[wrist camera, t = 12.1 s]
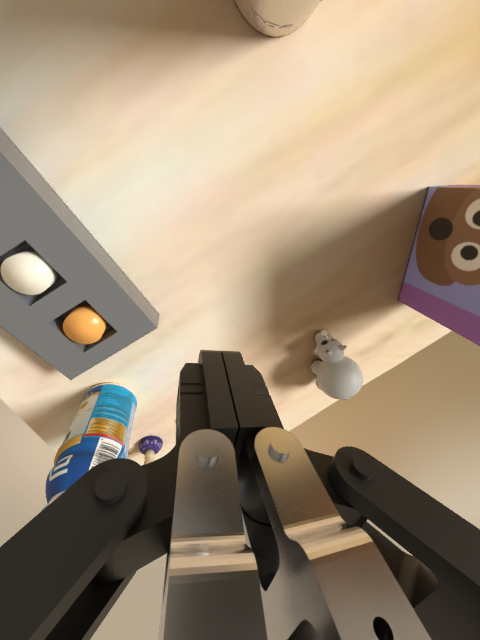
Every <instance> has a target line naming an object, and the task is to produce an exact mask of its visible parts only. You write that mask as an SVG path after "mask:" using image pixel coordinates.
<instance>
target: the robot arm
mask: <svg viewBox="0 0 480 640" xmlns="http://www.w3.org/2000/svg"><path fill="white" fill-rule="evenodd" d="M321 1H322V0H235V2H236V4H237V6H238V8H239V10H240V12H241V13H242V15H243V16H244V17H245V19H246V20H247V22H248V23H249V24H251V25H252V26H253V27H254V28H255V29H256V30H258V31H259V32H261V33H263V34H265V35H269V36H273V37H277V36H285V35H287V34H290V33H292V32H294V31H295V30H296V29H298V28H299V27H300V26H301V25H302V24H303V23H304V22H305V21H306V19H307V18H308V17H309V16H310V15H311V13H312V12H313V11H314V10H315V8H316V7H317V6H318V5H319V3H320V2H321ZM367 519H369V520H370V521H371V522H372V523H374V524H375V525H376V526H377V527H379V528H380V529H381V530H382V531H383V532H385V533H386V534H387V535H388V536H390V537H391V538H392V539H393V540H395V541H396V542H397V543H398V544H399V545H401V546H402V547H403V548H405V549H406V550H407V551H408V552H409V553H411V554H412V555H413V556H411V555H408V554H406V553H405V552H403V551H402V550H400V549H399V548H398V547H397V546H396V545H394V544H393V543H392V542H391V541H390V540H388V539H387V538H386V537H385V536H383V535H382V534H381V533H380V532H379V531H377V530H376V529H375V528H374V527H372V526H371V525H370V524H369V523H367V522H366V521H367ZM166 553H167V557H166V567H165V578H164V587H163V598H162V607H161V617H160V626H159V635H158V640H480V530H479V529H478V528H477V527H475V526H474V525H472V524H471V523H469V522H468V521H466V520H465V519H463V518H462V517H460V516H459V515H458V514H456V513H454V512H453V511H452V510H450V509H449V508H447V507H445V506H444V505H443V504H441V503H440V502H438V501H437V500H435V499H434V498H432V497H431V496H430V495H428V494H427V493H425V492H424V491H422V490H421V489H419V488H418V487H416V486H415V485H413V484H412V483H411V482H409V481H408V480H406V479H405V478H403V477H402V476H400V475H398V474H397V473H396V472H394V471H393V470H391V469H390V468H388V467H387V466H386V465H384V464H383V463H381V462H380V461H378V460H377V459H375V458H374V457H372V456H371V455H369V454H368V453H366V452H365V451H362V450H360V449H358V448H355V447H348V446H347V447H342V448H340V449H339V450H338V451H337V452H336V454H335V456H334V457H332V456H329V455H325V454H321V453H317V452H313V451H310V450H307V449H305V448H303V446H302V444H301V443H300V441H299V440H298V439H297V438H296V437H295V436H294V435H293V434H291V433H290V432H288V431H287V430H284V428H283V426H282V423H281V421H280V418H279V416H278V413H277V411H276V409H275V406H274V404H273V401H272V399H271V396H270V395H269V392H268V389H267V387H266V386H265V382H264V380H263V377H262V375H261V373H260V372H259V371H258V370H257V369H256V368H255V367H254V366H253V365H245V364H244V361H243V358H242V355H241V353H240V352H233V351H211V350H200V354H199V360H198V363H186V364H185V365H184V367H183V369H182V370H181V372H180V378H179V387H178V395H177V406H176V445H175V447H174V448H173V449H172V450H171V451H170V452H169V453H168V454H167V455H165V456H164V457H162V458H160V459H158V460H156V461H153V462H150V463H148V464H145V465H142V466H140V465H139V464H138V463H136V462H135V461H133V460H130V459H125V458H115V459H110V460H106V461H104V462H101V463H99V464H98V465H96V466H94V467H93V468H91V469H90V470H89V471H87V472H86V473H85V474H84V475H83V476H82V477H81V478H79V479H78V480H77V481H76V482H75V483H74V484H72V485H71V486H70V487H69V488H68V489H67V490H66V491H64V492H63V493H62V494H61V495H60V496H59V497H58V498H56V499H55V500H54V501H53V502H52V503H51V504H49V505H48V506H47V507H46V508H45V509H44V510H43V511H41V512H40V513H39V514H38V515H37V516H36V517H34V518H33V519H32V520H31V521H30V522H29V523H28V524H26V525H25V526H24V527H23V528H22V529H21V530H20V531H18V532H17V533H16V534H15V535H14V536H13V537H11V538H10V539H9V540H8V541H7V542H6V543H5V544H3V545H2V546H1V547H0V640H90V639H91V637H92V636H93V634H94V632H95V631H96V630H97V628H98V627H99V625H100V624H101V623H102V621H103V620H104V618H105V617H106V615H107V614H108V612H109V611H110V609H111V608H112V607H113V605H114V604H115V602H116V601H117V599H118V598H119V596H120V595H121V593H122V592H123V590H124V589H125V587H126V586H127V585H128V583H129V582H130V580H131V579H132V577H133V576H134V574H135V573H136V571H137V570H138V569H140V568H142V567H143V566H145V565H147V564H148V563H150V562H152V561H154V560H156V559H157V558H159V557H161V556H163V555H164V554H166Z"/></svg>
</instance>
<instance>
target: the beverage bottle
mask: <svg viewBox="0 0 480 640" xmlns="http://www.w3.org/2000/svg"><path fill="white" fill-rule="evenodd" d="M136 407H137V399H136V396H135V394H134V393H133V392H132V391H131V390H130V389H129V388H127V387H126V386H124V385H121V384H117V383H103V384H99V385H96V386H94V387H92V388H91V389H89V390H88V391H87V392H86V393H85V395H84V397H83V399H82V401H81V404H80V406H79V409H78V411H77V413H76V415H75V417H74V420H73V422H72V424H71V426H70V428H69V430H68V433H67V435H66V437H65V439H64V441H63V444H62V445H61V446H60V448H59V449H58V451H57V454H56V457H55V460H54V467H53V468H52V470H51V471H50V472H49V474H48V477H47V481H46V498H47V503H48V504H47V505H46V506H45V507H44V508H43V510H44V509H45V508H46V507H47V506H48V505H49V504H51V503H52V502H53V501H54V500H55V499H56V498H58V497H59V496H60V495H61V494H62V493H63V492H64V491H66V490H67V489H68V488H69V487H70V486H71V485H72V484H74V483H75V482H76V481H77V480H78V479H79V478H81V477H82V476H83V475H84V474H85V473H86V472H87V471H89V470H90V469H91V468H93V467H94V466H96V465H98V464H99V463H101V462H104V461H106V460H110V459H115V458H125V459H128V445H129V440H130V435H131V429H132V424H133V419H134V415H135V411H136ZM43 510H42V511H43Z"/></svg>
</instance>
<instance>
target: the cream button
mask: <svg viewBox="0 0 480 640" xmlns="http://www.w3.org/2000/svg"><path fill="white" fill-rule="evenodd" d="M1 275H2V278H3V280H4V281H5V282H6V284H7V285H8V286H9V287H11V288H12V289H13V290H15V291H17V292H19V293H22V294H26V295H36V294H40V293H42V292H44V291H45V290H46V289H47V288H49V287H50V286H51V285H52V284H54V283H55V282H56V281H57V280H58V279H59V277H60V274H59V273H58V272H57V271H56V270H55V269H54V268H53V267H52V266H51V265H50V264H49V263H48V262H47V261H46V260H45V259H44V258H43V257H42V256H41V255H40V254H39V253H38V252H37V251H36V250H35V249H34V248H30V249H26V250H24V251H22V252H19V253H17V254H15V255H13V256H11V257H9V258H7V259H5V260H4V261H3V263H2V265H1Z"/></svg>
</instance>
